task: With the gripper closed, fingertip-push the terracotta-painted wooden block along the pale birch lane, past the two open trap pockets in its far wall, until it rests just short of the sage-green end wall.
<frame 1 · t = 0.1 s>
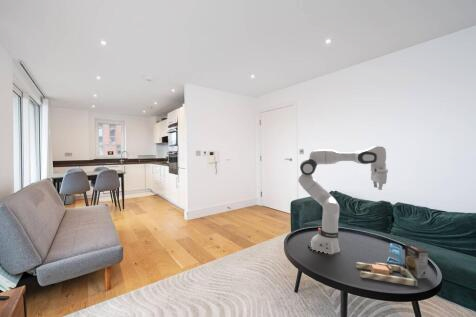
hand: (377, 188, 147), 48 cm above the table, fingers open, 8 cm apart
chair: (395, 262, 140), on the table
terracotta block: (379, 275, 125), resting in birch trap lane
coffee box: (415, 274, 127), on the table
birch trap lane: (383, 275, 125), on the table
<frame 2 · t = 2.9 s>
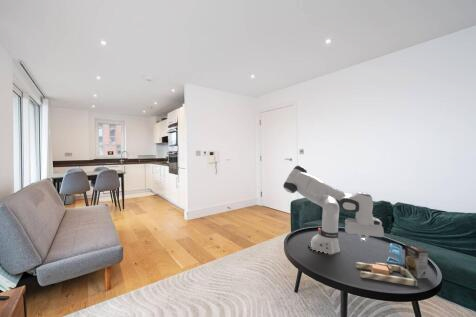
hand: (363, 241, 127), 19 cm above the table, fingers closed
nothing on the table moved.
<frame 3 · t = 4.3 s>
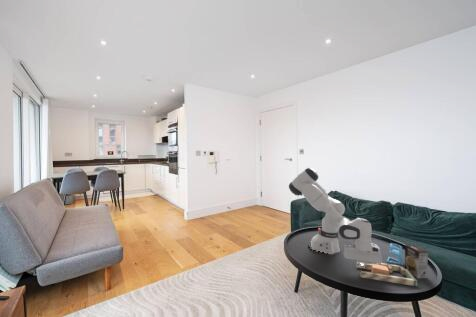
hand: (361, 267, 128), 3 cm above the table, fingers closed
nothing on the table moved.
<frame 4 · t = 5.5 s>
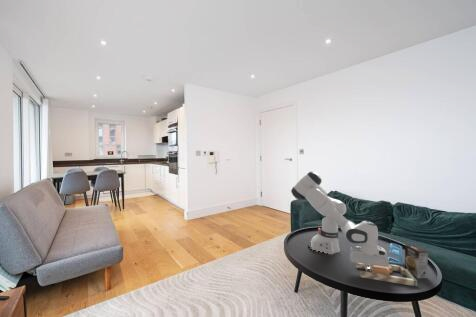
hand: (368, 270, 127), 2 cm above the table, fingers closed
terracotta block: (380, 275, 125), resting in birch trap lane, touching gripper
everything else where it was.
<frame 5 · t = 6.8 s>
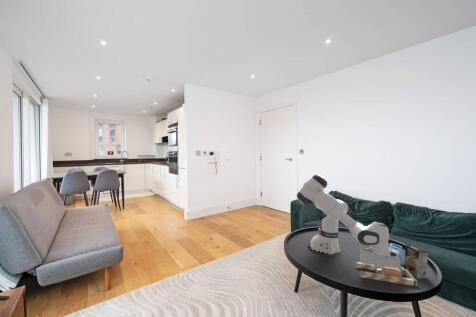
hand: (378, 272, 125), 2 cm above the table, fingers closed
terracotta block: (391, 276, 124), resting in birch trap lane, touching gripper
everything else where it was.
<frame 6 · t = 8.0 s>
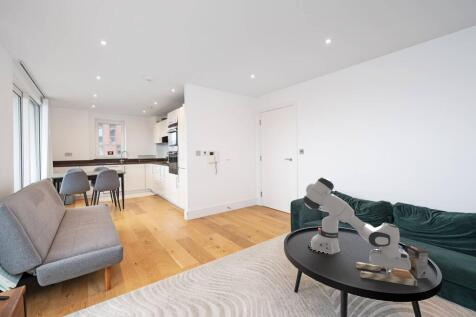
hand: (388, 274, 123), 2 cm above the table, fingers closed
terracotta block: (400, 278, 122), resting in birch trap lane, touching gripper
everything else where it was.
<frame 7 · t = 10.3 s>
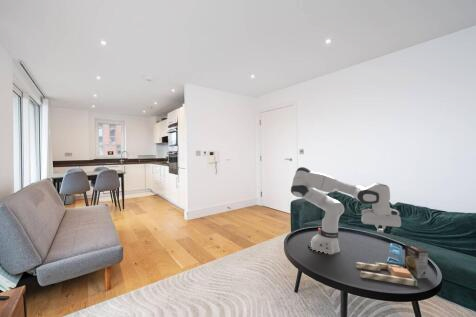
hand: (380, 232, 128), 25 cm above the table, fingers closed
terracotta block: (400, 278, 122), resting in birch trap lane
everything else where it was.
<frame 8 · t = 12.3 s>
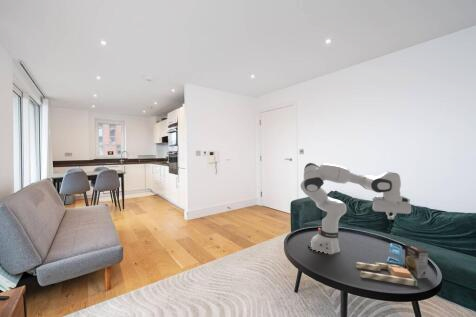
hand: (390, 219, 133), 31 cm above the table, fingers closed
nothing on the table moved.
at the end: terracotta block 0.5 cm from the target spot, resting in birch trap lane; terracotta block tilted 0°; the gripper is holding nothing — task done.
